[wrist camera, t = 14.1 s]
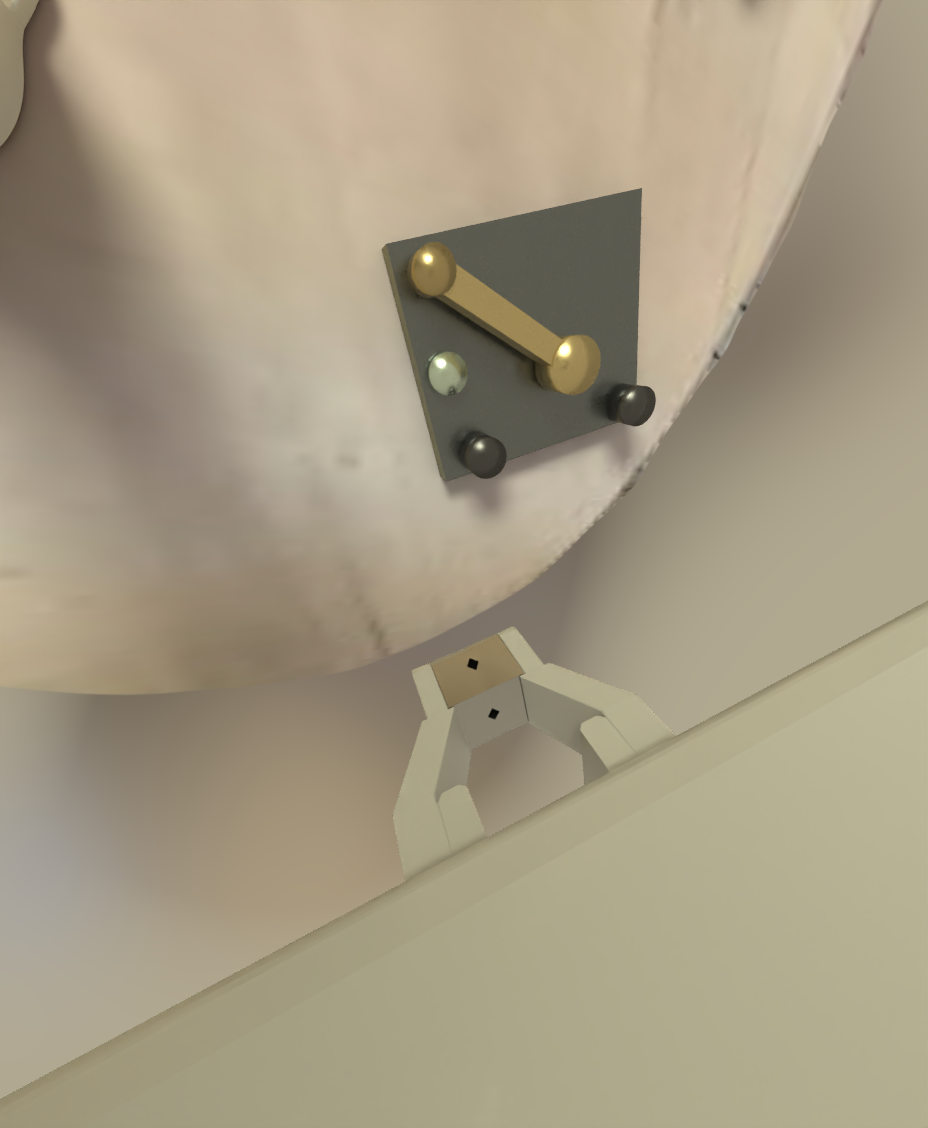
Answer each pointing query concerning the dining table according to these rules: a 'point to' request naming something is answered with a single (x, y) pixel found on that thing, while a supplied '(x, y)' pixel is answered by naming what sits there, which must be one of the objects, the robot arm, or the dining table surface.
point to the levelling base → (549, 296)
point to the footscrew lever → (506, 321)
